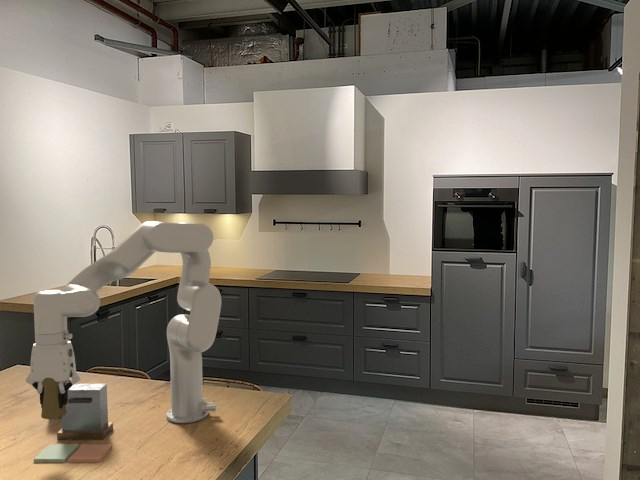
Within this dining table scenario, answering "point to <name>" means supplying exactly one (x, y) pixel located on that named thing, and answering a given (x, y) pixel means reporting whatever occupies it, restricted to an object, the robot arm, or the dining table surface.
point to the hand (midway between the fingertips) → (54, 405)
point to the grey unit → (86, 413)
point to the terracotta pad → (90, 453)
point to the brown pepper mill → (51, 400)
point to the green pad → (56, 453)
